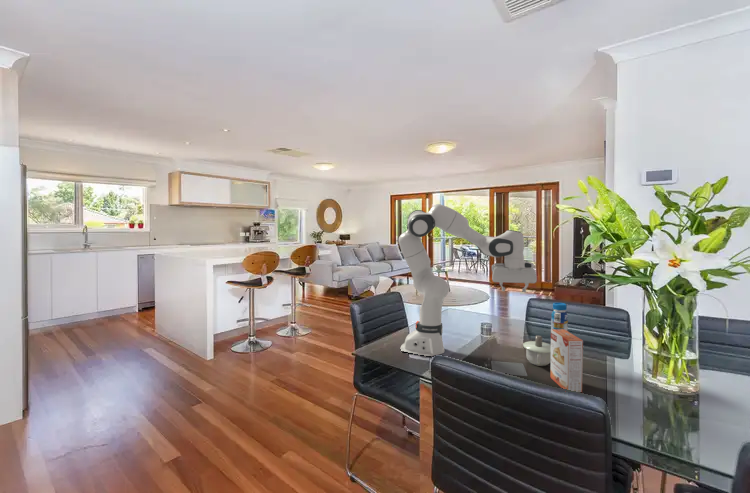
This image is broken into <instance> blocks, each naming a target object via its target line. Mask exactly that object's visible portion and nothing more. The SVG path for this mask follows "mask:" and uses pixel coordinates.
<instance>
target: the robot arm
mask: <svg viewBox="0 0 750 493" xmlns="http://www.w3.org/2000/svg"><path fill="white" fill-rule="evenodd" d="M406 221H407V226H406V231H403V232H402V233H401V234H400V236H399V237H398V244H399V248H400V250H401V253H402V256H403V257H404V260H405V262H406V264H407V265H408V269H409V270H410V272H411V276H412V280H413V282H412V283H413V287H414V289H415V290H416V291H417V292H418V293H419V294H421V295H423V299H422V303H421V305H420V306H419V320H417V321H416V322H415V329H414V330H413V331H411V332H410V333H408V334H407V335H406V337H405V340H404V342H403V343H402V344H401V346H400V349H401V351H404V352H408V353H413V354H412V355H414V354H418V355H417V356H420V355H424V356H423V357H426V356H431V357H433V356H439V355H443V354H444V353H445V347H444V341H443V331H444V330H443V323H442V310H443V304H444V300H445V298H446V297H447V296H448V294H449V290H450V286H449V283H448V281H446V280H445V279H444V278H442V277H441V276H437V275H435V274H434V273H433V271H432V266H431V264H432V263H431V262H432V261H431V258H430V257H429V255H428V253H427V250H426V248H425V246H424V244H423V242H422V239H421V238H422V237H425V236H427V235H428V234H429V233H430V232H432V230H434V229H435V228H437V229H440V230H442V231H443V232H445V233H447V234H449V235H452V236H455V237H457V238H462V239H464V240H466V241H468V242H469V243H471V244H473V245H475V246H476V247H477V249H478V250H479V251H480V253H482V254H483V255H484V256H487V257H493V258H502V257H504V263H503V262H502V263H497V262H496V263H493V264H492V265H491V272H492V276H491V279H492V282H493V283H499V286H500V287H501V292H506V287H505V286H503V285H504V284H503V283H511V284H513V283H514V284H515V283H516V284H518V283H519V284H524V285H525V286H524V287H522V293H526V292H527V289H528V287H529V284H536V283H537V281H538V279H537V271H536V270H535V265H534V263H533V262H531V261H528V260H525V257H524V250H525V239H524V235H523V233H522V232H521V231H518V230H512V229H506V231H505V232H504V233H502V234H499V235H497V236H489V235H488V236H487V235H483V234H481V232H480V233H479V232H478V231H477V230H475V229H473V228H472V227H471V226H470V224H469V220H468V218H467V217H466V216H464V215H463V214H462V213H460V212H459V211H457V210H455V209H453V208H451V207H449V206H446V205H443V204H440V203H437V204H434V205H433V206H432V207H431V208H430V209H429V211H427V212H425V211H424V210H422V209H421V210H420V209H417V210H413V211H411V213H410V214H409V215H408V217H407V220H406ZM401 351H400V352H401ZM408 353H407V354H408Z"/></svg>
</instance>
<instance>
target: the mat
mask: <svg viewBox="0 0 750 493" xmlns="http://www.w3.org/2000/svg"><path fill="white" fill-rule="evenodd" d="M490 363H491V364H490V365H491V371H492V370H496V371H500V372H503V373H507V374H510V376H520V377H528V373H527V370H526V368H525V365H524V363H521V362H512V361H511V362H508V361H499V360H498V361H497V360H490ZM507 374H506V375H507Z"/></svg>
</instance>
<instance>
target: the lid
mask: <svg viewBox="0 0 750 493" xmlns="http://www.w3.org/2000/svg"><path fill="white" fill-rule="evenodd" d="M522 345H523V346H522V347H523V348H524V349H527V350H530V351H533V352H539V353H550V352H551V343H547V342H543V336H542V335H538V334H537V335H535V340H533V341H530V340H529V341H525V342H523V343H522Z"/></svg>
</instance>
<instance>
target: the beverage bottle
mask: <svg viewBox="0 0 750 493" xmlns="http://www.w3.org/2000/svg"><path fill="white" fill-rule="evenodd" d="M567 306H568V305H567V304H566V303H564V302H553V303H552V310H553V311H552V312H551V318H550V331H551V330H552V329H565V330H566V331H568V329H569V328H568V327H569V326H568V324H569V320H568V318H569V315H568V313H567V312H566V311H567V310H568V309H567V308H568V307H567ZM568 332H569V331H568Z"/></svg>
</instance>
